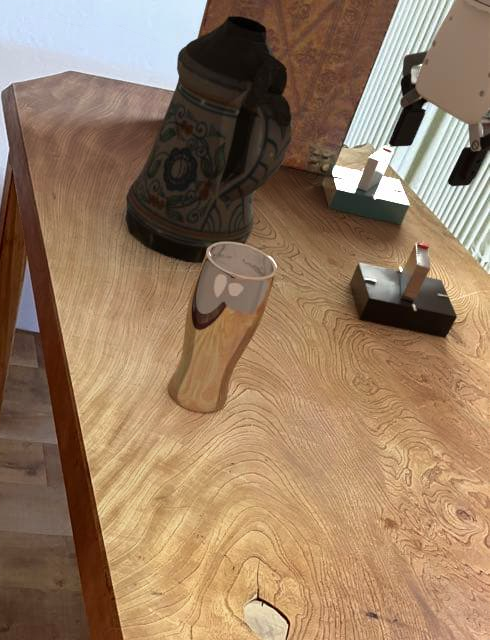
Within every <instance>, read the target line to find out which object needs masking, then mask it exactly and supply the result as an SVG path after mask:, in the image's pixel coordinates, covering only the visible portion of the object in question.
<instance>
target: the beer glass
mask: <svg viewBox="0 0 490 640" xmlns="http://www.w3.org/2000/svg"><path fill="white" fill-rule="evenodd" d="M277 271H278V267H277V264H276V262H275V260H274V259H273V258H272V257H271V256H270V255H268V254H267V253H266V252H264V251H263V250H260V249H259V248H257V247H255V246H252V245H249V244H246V243H245V244H243V243H238V242H230V241H222V242H216V243H213V244H211V245H210V246H209V247H208V248H207V250H206V254H205V257H204V259H203V262H202V263H200V267H199V269H198V272H197V275H196V277H195V280H194V283H193V285H192V288H191V294H190V297H189V300H188V305H187V310H186V316H185V326H184V336H183V342H182V343H183V344H182V351H181V355H180V359H179V361H178V364H177V367H176V369H175V370H174V372H173V374H172V375H171V378H170V380H169V381H168V384H167V391H168V395H169V396H170V398H171V399H172V400H173V402H175V403H176V404H178V405H179V406H181V407H183V408H185V409H187V410H189V411H192V412H196V413H201V414H203V413H204V414H210V413H214V412H219V411H220V410H222V409H223V408H224V407H225V405H226V403H227V399H228V394H229V386H230V381H231V377H232V375H233V372H234V370H235V368H236V366H237V364H238V362H239V360H240V359H241V357H242V356H243V354H244V352H245V350H246V349H247V347H248V346H249V344H250V342H251V340H252V339H253V337H254V335H255V333H256V331H257V329H258V327H259V326H260V323H261V321H262V318H263V316H264V313H265V311H266V308H267V304H268V303H269V298H270V294H271V292H272V288H273V284H274V280H275V277H276V273H277Z"/></svg>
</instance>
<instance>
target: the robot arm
mask: <svg viewBox="0 0 490 640" xmlns="http://www.w3.org/2000/svg"><path fill="white" fill-rule="evenodd" d="M400 90H401V98H400V101H399V105H400V107H401V108H402V109H401V112H400V114H399V116H398V118H397V122H396V123H395V126H394V128H393V131H392V134H391V136H390V139H389V140H388V145H390V146H391V147H392V148H393V147H409V146H410V147H411V146H412V145H413V143H414V141H415V138H416V136H417V134H418V131H419V130H420V127H421V125H422V123H423V120H424V118H425V115H426V111H427V110H426V109H424V107H425V106H426V105H427V104H429V103H430V104H432V105H433V106H434V107H437V109H438V108H439V109H440V110H441V111H443V112H445V113H446V114H448V115H449V116H452V117H453V118H456V119H457V120H458V121H460V122H461V123H463V124H466V125H468V127H467V128H468V138H469V139H468V141H469V146H465V147H463V149H461V151H460V154H459V156H458V158H457V160H456V162H455V164H454V166H453V168H452V170H451V173H450V175H449V176H448V179H447V184H448V185H449V186H451V187H462V186H465V187H466V186H469V185H472V183H473V180H474V179H475V178H476V176H477V175H478V173H479V171H480V169H481V167H482V165H483V163H484V161H485V159H486V156H487V155H488V153H489V152H490V0H455V1H454V3H453V4H452V5H451V7H450V8H449V11H448V12H447V13H446V15H445V17H444V19H443V21H442V23H440V26H439V28H438V30H437V32H436V34H435V36H434V37H433V40H432V42H431V44H430V46H429V48H428V50H426V51H425V50H424V51H419V52H415V53H410V54H406V55H405V56H404V57H403V60H402V77H401V79H400Z"/></svg>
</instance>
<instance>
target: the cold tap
mask: <svg viewBox="0 0 490 640" xmlns="http://www.w3.org/2000/svg"><path fill="white" fill-rule="evenodd" d="M394 152H395V150H394V148H393V147H390V146H387V145H384V146H383V147H381V148H379V150H377V151H375V152H374V153H373V154H370V156H368V158H367V160H366V163H365V165H364V168H363V169H364V170H363V169H362V171H361V172H362V175H361V177H360V180H359V182H358V185H357V188H359V189H361V190H364V191H368V190H369V189H370V188H372V187H373V186H375V185H376V184H377V183H379V182H380V181H381V180H382V178H383V177H385V176H384V175H385V173H386V171H387V169H388V166H389V164H390V162H391V159H392V157H393V155H394Z"/></svg>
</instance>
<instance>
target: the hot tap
mask: <svg viewBox="0 0 490 640" xmlns="http://www.w3.org/2000/svg"><path fill="white" fill-rule="evenodd" d="M403 266H404V267H403V268H402V273H401V299H404V300H408V301H411V302H414V301H415V299H416V297H417V295H418V293H419V291H420V289H421V287H422V285H423V283H424V281H425V279H426V277H428V275H429V273H430V271H431V257H430V244H429V243H427V242H424V241H421V240H418V241H415V243H414V245H413V248H412V250H411V252H410V254H409V256H408V258H407V260H406V262H405V265H403Z"/></svg>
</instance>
